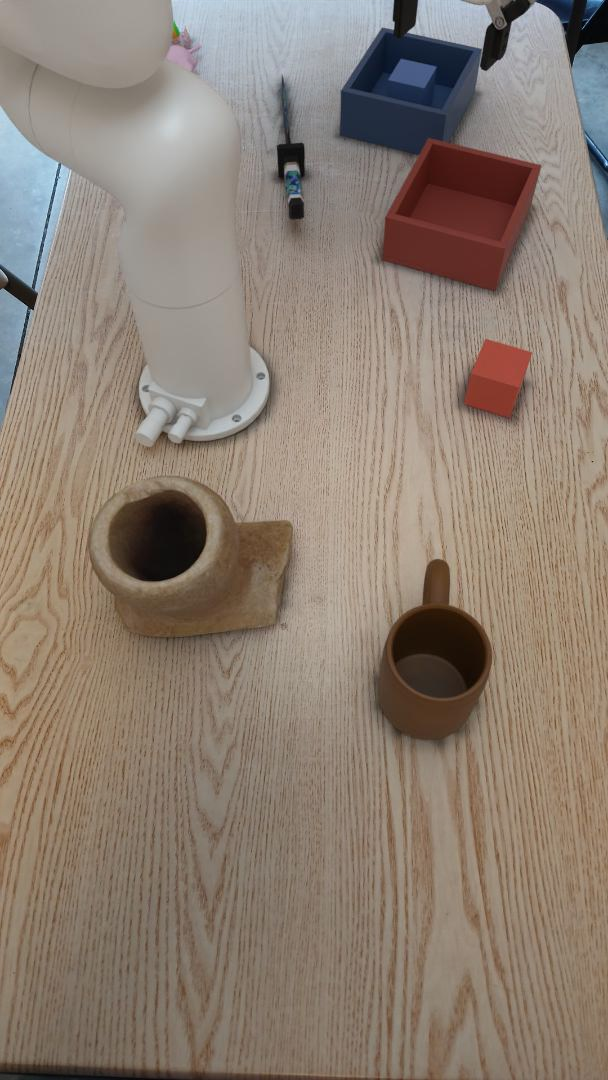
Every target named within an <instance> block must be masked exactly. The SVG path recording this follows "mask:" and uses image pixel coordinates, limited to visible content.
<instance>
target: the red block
mask: <svg viewBox="0 0 608 1080" xmlns="http://www.w3.org/2000/svg"><path fill="white" fill-rule="evenodd" d="M532 355H533V352H532V351H530V350H526V349H523V348H519V347H515V346H512V345H509V344H506V343H502V342H498V341H495V340H491V339H489V338H485V339H484V341H483V343H482V345H481V348H480V351H479V353H478V355H477V357H476V360H475V362H474V365H473V367H472V370H471V372H470V376H469V380H468V385H467V389H466V392H465V397H464V402H463V405H465V406H469V407H472V408H474V409H475V408H476V409H478V410H481V411H485V412H488V413H491V414H495V415H498V416H501V417H505V418H507V419H510V418H511V415H512V413H513V410H514V407H515V405H516V403H517V399H518V396H519V394H520V392H521V388H522V386H523V383H524V380H525V377H526V374H527V370H528V369H529V365H530V362H531V358H532Z"/></svg>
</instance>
